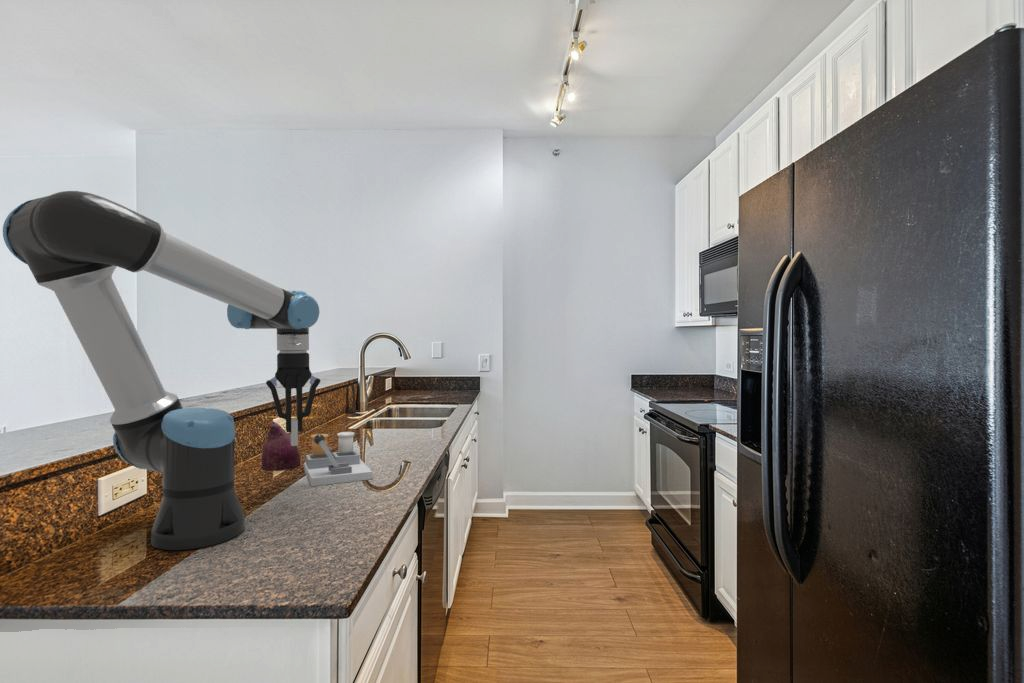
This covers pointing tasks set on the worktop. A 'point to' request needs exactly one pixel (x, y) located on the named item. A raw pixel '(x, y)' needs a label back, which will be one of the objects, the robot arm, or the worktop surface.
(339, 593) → the worktop surface
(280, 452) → the vegetable
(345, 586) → the worktop surface
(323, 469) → the panel
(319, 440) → the lever
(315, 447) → the plunger orange
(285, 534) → the worktop surface
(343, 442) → the plunger white
